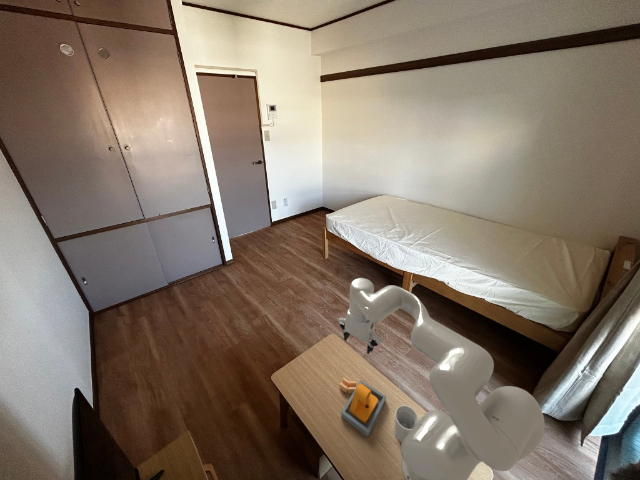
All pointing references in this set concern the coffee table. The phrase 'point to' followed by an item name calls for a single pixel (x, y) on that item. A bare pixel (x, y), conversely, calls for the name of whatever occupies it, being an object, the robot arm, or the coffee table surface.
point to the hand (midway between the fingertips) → (357, 344)
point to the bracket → (363, 403)
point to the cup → (404, 421)
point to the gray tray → (370, 423)
